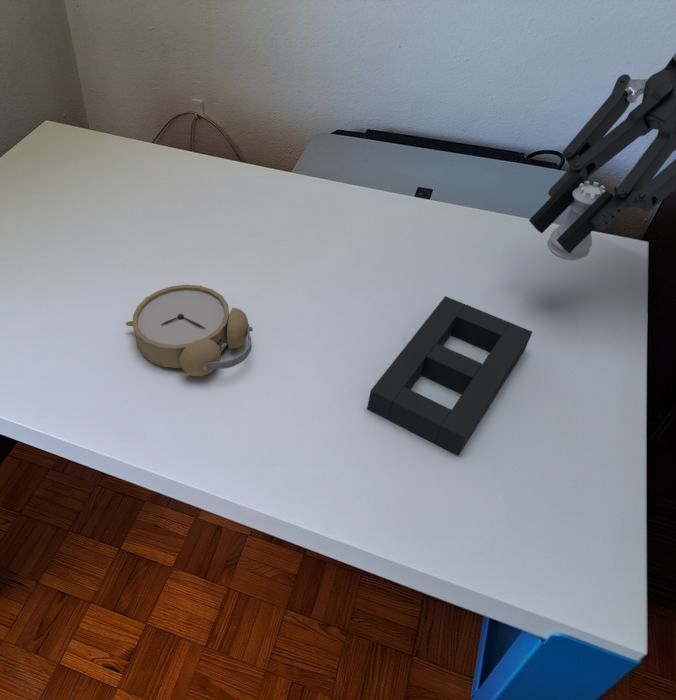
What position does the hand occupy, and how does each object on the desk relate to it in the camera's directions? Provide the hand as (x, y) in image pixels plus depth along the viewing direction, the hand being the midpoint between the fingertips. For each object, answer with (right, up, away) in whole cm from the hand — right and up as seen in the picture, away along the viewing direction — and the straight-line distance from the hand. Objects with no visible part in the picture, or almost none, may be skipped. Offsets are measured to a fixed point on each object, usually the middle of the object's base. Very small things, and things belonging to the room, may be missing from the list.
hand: (549, 236), depth 73 cm
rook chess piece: (+4, -1, +3) cm, 5 cm away
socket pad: (-10, -15, +2) cm, 18 cm away
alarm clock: (-38, -12, +7) cm, 40 cm away
